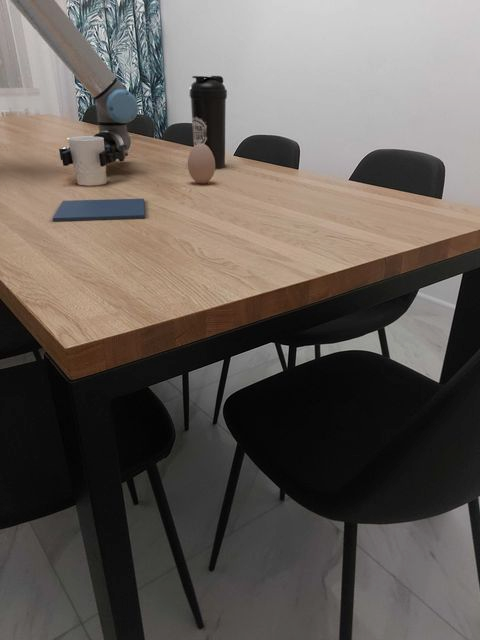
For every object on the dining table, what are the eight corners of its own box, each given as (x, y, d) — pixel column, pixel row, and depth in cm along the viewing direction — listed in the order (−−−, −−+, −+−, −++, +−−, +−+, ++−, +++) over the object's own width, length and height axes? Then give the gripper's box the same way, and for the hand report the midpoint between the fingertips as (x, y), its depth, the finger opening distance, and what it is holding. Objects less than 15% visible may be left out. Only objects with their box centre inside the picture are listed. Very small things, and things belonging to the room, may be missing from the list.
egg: (199, 179, 126) (197, 140, 122) (221, 182, 123) (220, 143, 119) (183, 184, 121) (180, 143, 117) (205, 187, 118) (203, 145, 114)
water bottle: (185, 165, 145) (180, 75, 134) (213, 162, 151) (211, 75, 140) (206, 170, 138) (203, 75, 127) (235, 167, 144) (234, 76, 133)
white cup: (110, 180, 124) (105, 136, 119) (107, 186, 117) (101, 140, 112) (77, 180, 123) (70, 136, 118) (72, 186, 116) (65, 140, 111)
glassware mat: (53, 221, 89) (52, 218, 89) (63, 203, 101) (62, 200, 101) (145, 218, 92) (144, 214, 92) (144, 201, 104) (144, 198, 104)
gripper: (146, 162, 135) (130, 177, 115) (69, 161, 134) (39, 176, 114) (144, 132, 131) (126, 142, 111) (64, 130, 130) (33, 141, 110)
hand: (82, 159), depth 113 cm, fingers closed on white cup, 8 cm apart
